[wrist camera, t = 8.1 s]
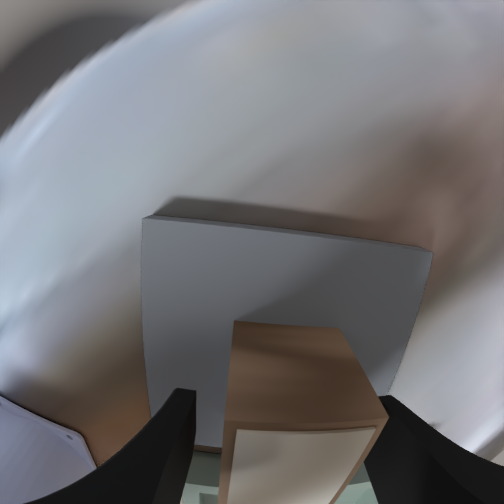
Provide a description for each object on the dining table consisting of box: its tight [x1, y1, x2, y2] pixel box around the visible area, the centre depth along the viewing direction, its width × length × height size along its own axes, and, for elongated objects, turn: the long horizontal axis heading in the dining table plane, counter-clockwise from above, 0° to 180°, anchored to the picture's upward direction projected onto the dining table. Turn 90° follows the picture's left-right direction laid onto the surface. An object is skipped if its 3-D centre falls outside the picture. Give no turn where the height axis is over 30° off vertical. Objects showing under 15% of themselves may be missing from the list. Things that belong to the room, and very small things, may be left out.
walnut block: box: [218, 320, 389, 504], centre depth 9 cm, size 4×5×5 cm
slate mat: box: [141, 215, 433, 448], centre depth 12 cm, size 11×11×1 cm
